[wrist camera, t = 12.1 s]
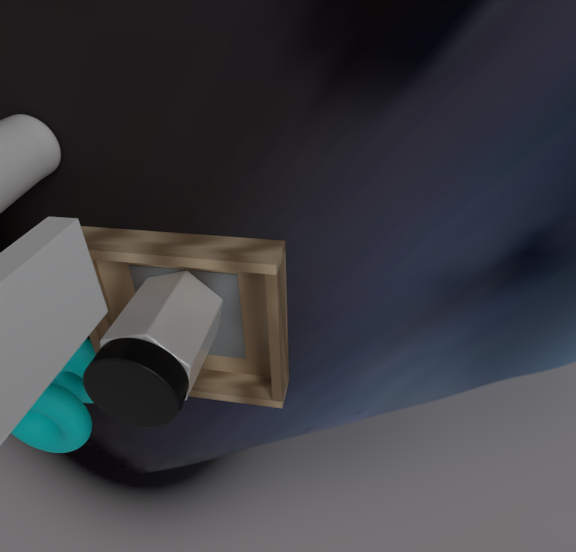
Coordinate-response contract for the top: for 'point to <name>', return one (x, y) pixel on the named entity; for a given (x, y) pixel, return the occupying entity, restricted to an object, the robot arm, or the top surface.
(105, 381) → the jar
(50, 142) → the light grey cylinder
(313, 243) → the top surface
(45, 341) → the robot arm
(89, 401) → the donuts
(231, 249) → the crate
